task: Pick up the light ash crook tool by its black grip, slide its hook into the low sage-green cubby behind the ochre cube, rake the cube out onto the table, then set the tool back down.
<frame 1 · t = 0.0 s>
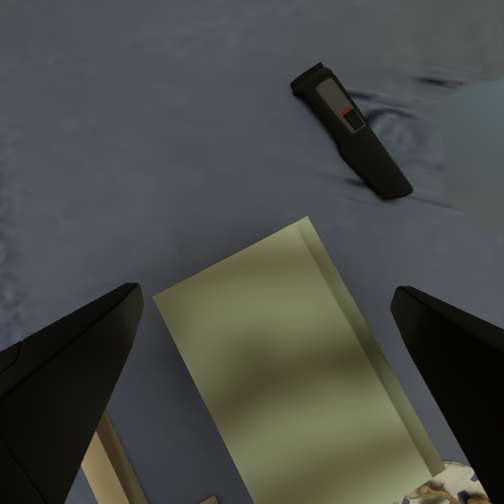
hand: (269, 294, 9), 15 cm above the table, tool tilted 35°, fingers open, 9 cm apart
crook tool: (71, 367, 23), on the table
sage cubby: (280, 349, 24), on the table
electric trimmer: (344, 137, 27), on the table
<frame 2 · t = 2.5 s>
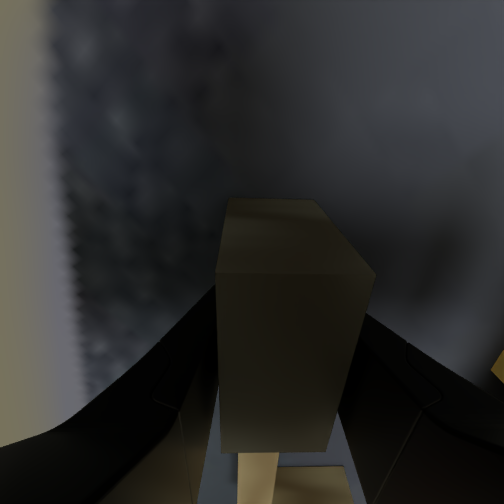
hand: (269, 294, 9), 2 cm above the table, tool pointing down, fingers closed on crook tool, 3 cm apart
crook tool: (266, 271, 11), on the table, touching gripper
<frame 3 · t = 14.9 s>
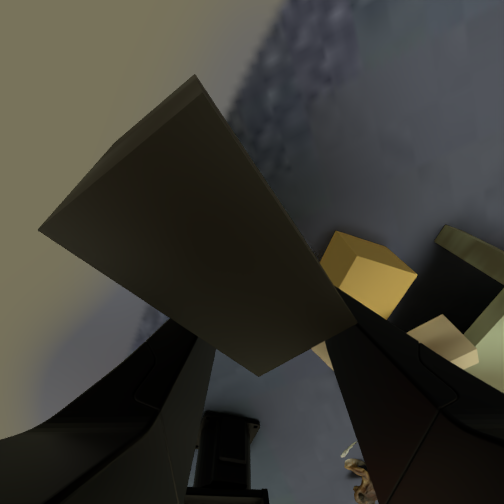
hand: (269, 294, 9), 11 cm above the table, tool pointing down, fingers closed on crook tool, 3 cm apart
crook tool: (218, 189, 9), point 10 cm above the table, tilted 14°, touching gripper
ochre cube: (347, 262, 22), on the table
sage cubby: (437, 325, 25), on the table
frog figurine: (379, 454, 36), on the table
when the fingers open (11 cm above the table, at t = 14.9 s): crook tool drops 10 cm, on the table.
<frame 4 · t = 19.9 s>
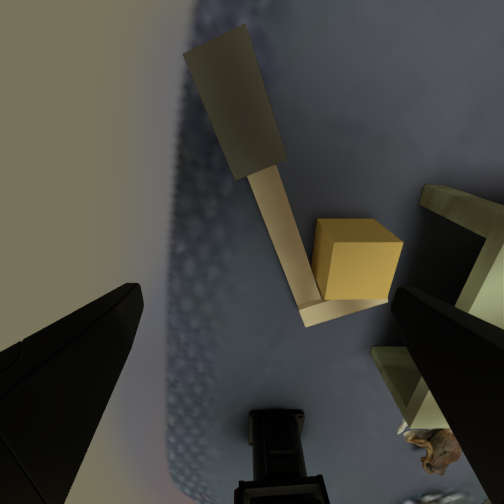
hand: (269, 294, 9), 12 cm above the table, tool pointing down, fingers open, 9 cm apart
crook tool: (240, 112, 17), on the table
ochre cube: (340, 244, 22), on the table
sage cubby: (452, 283, 24), on the table
frog figurine: (439, 422, 35), on the table
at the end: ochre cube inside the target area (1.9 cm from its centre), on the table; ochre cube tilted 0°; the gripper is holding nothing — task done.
